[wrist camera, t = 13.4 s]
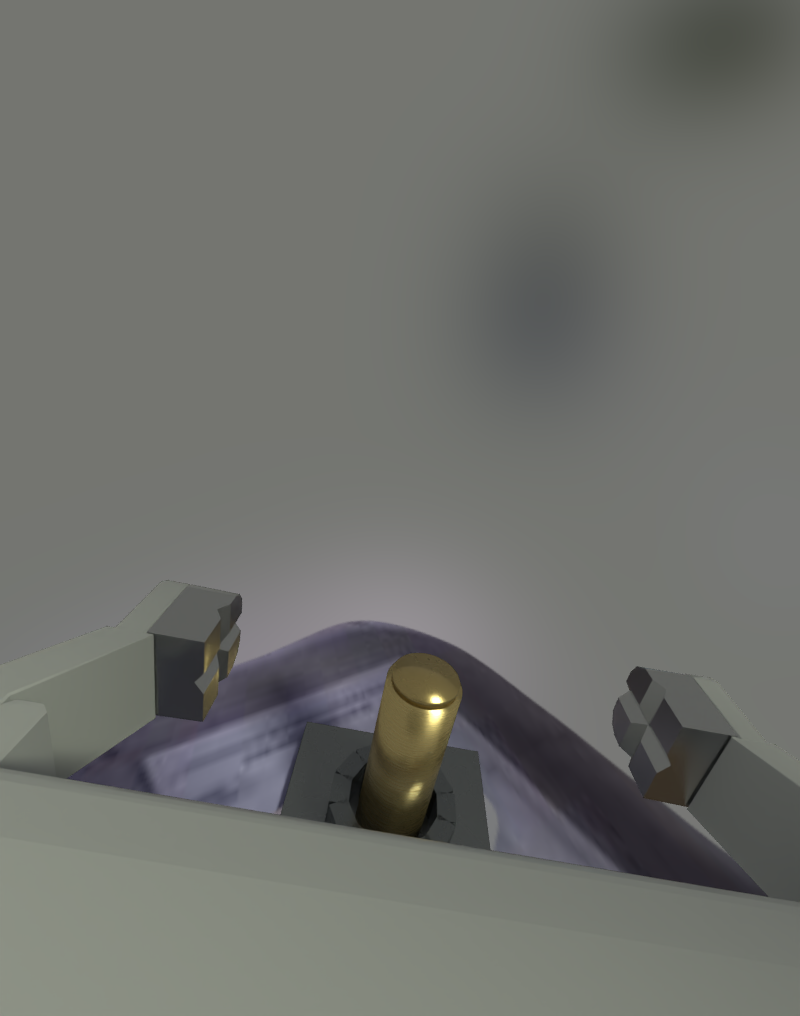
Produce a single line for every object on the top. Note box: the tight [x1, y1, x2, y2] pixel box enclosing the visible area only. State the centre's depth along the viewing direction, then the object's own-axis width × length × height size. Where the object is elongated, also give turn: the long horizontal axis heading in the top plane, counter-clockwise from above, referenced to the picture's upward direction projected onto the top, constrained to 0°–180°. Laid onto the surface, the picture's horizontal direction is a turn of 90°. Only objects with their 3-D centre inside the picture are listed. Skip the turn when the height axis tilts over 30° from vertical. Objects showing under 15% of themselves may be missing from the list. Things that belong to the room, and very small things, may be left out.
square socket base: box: [281, 722, 490, 850], centre depth 35 cm, size 16×16×4 cm
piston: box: [355, 653, 462, 838], centre depth 33 cm, size 5×5×15 cm
